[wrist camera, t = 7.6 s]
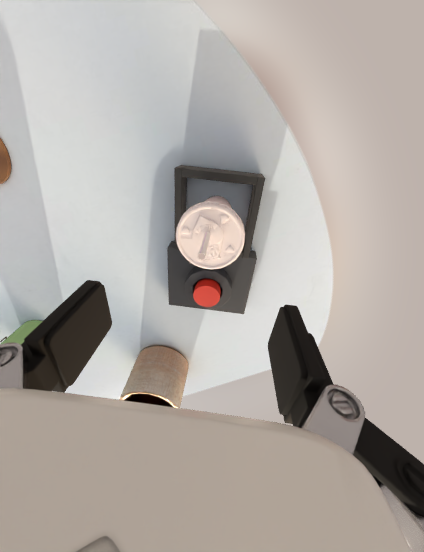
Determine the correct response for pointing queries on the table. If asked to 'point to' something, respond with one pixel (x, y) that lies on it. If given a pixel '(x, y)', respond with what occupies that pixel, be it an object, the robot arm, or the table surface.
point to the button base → (229, 278)
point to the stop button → (207, 292)
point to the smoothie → (210, 234)
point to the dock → (220, 175)
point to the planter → (157, 378)
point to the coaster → (4, 163)
